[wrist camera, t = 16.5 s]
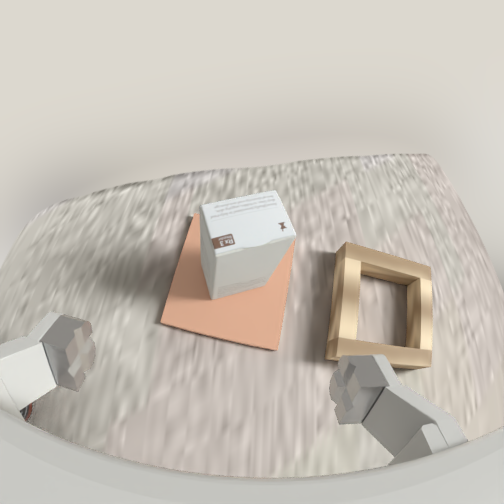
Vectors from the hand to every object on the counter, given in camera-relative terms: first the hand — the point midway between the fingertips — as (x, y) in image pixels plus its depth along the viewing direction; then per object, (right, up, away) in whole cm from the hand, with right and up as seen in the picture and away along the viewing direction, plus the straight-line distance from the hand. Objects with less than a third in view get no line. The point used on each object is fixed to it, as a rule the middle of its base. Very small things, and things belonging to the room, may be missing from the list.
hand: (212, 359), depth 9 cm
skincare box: (-1, +1, +22) cm, 23 cm away
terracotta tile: (-1, 0, +23) cm, 23 cm away
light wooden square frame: (+17, -4, +24) cm, 30 cm away
